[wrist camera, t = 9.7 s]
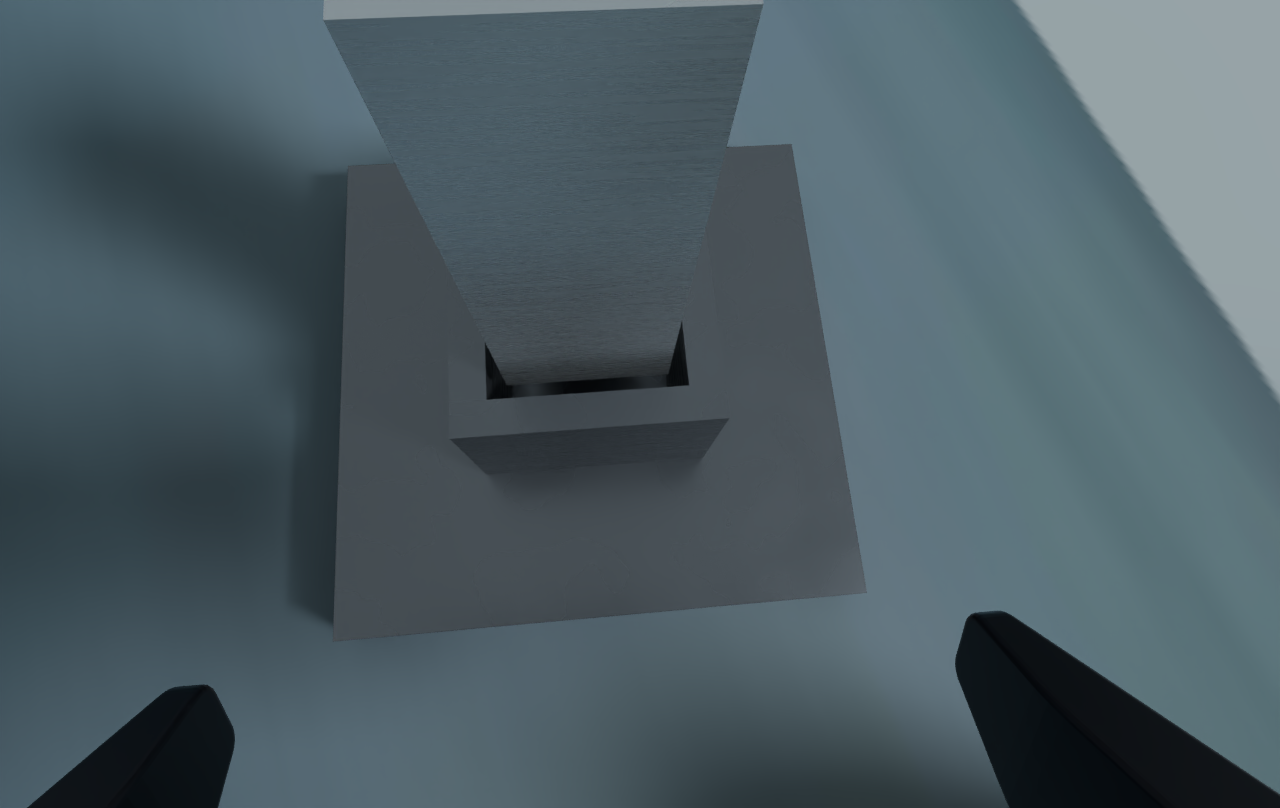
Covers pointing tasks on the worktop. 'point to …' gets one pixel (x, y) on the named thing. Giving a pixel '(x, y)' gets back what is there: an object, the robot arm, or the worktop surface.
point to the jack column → (558, 160)
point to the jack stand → (587, 438)
